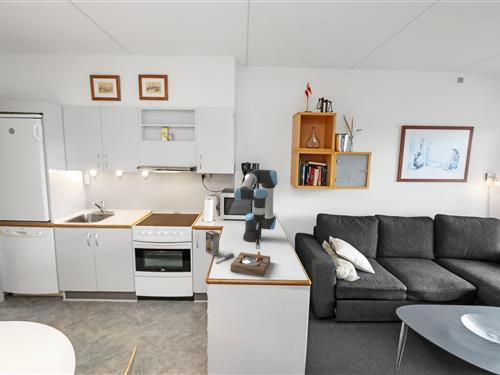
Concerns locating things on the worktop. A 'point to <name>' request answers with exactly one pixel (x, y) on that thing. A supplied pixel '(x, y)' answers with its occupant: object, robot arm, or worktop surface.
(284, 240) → the worktop surface
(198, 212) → the worktop surface
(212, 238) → the coffee box
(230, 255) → the screwdriver
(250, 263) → the dial
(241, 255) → the housing
